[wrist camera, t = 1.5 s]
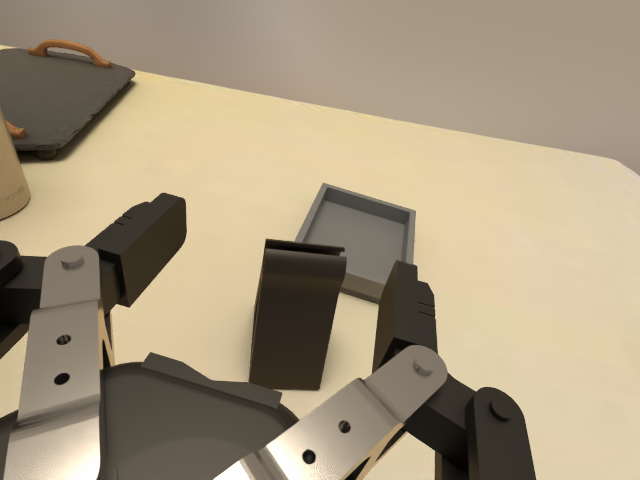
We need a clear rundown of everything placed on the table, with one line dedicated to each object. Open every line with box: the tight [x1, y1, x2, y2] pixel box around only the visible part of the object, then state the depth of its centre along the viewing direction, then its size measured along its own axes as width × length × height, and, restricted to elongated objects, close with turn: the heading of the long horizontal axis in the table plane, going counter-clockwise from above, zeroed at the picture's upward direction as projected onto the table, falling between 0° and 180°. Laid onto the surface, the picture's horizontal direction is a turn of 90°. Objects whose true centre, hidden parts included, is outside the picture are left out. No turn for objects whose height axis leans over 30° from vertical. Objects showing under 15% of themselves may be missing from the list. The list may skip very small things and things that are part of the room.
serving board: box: [0, 39, 135, 160], centre depth 58 cm, size 39×23×6 cm, turn 5°
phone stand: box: [249, 239, 347, 389], centre depth 31 cm, size 9×6×12 cm, turn 4°
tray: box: [294, 183, 416, 304], centre depth 47 cm, size 14×17×3 cm
